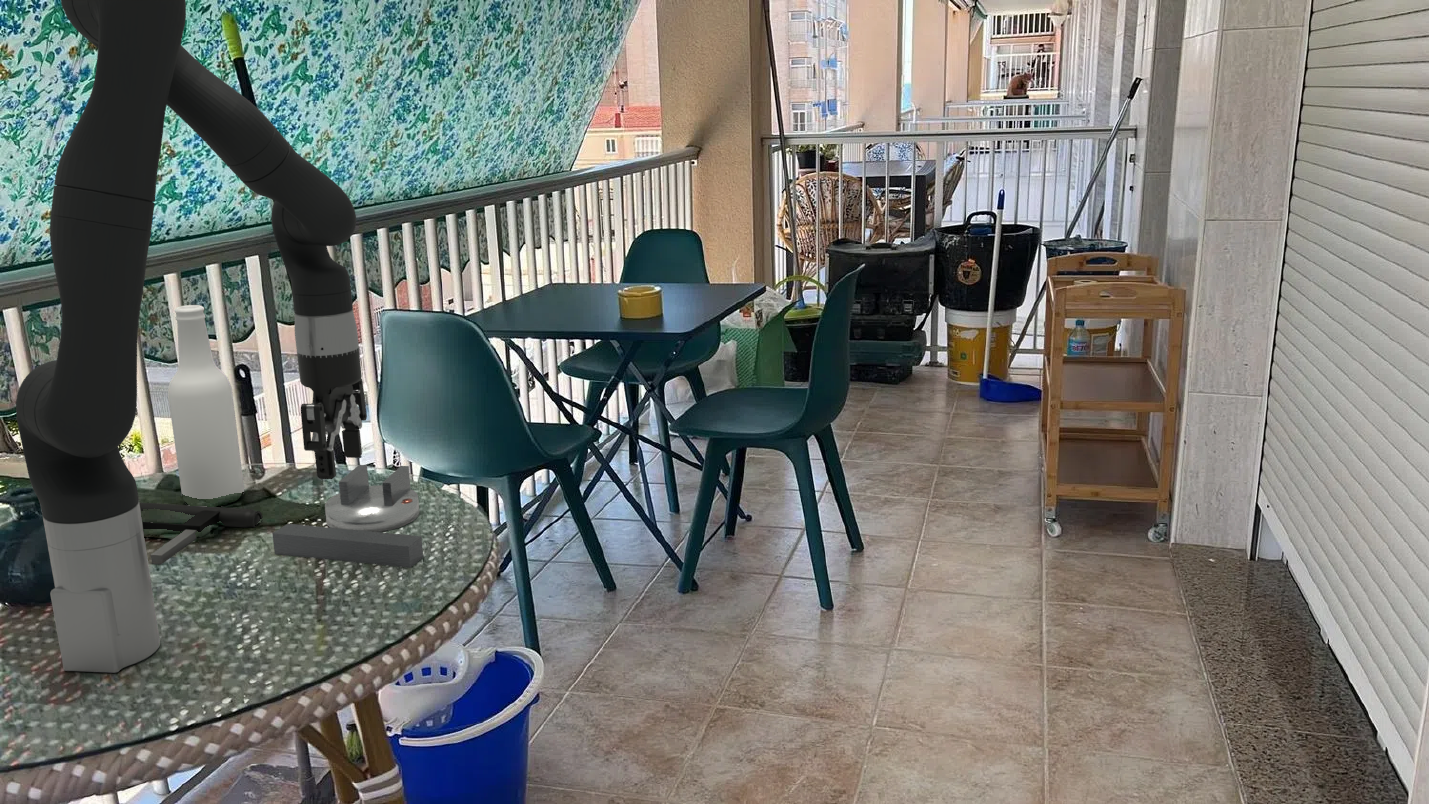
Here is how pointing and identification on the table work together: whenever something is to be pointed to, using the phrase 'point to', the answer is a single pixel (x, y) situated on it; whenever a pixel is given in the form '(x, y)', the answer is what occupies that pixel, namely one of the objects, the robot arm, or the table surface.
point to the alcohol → (203, 414)
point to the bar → (348, 545)
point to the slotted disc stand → (373, 502)
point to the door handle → (196, 524)
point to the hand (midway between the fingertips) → (340, 467)
